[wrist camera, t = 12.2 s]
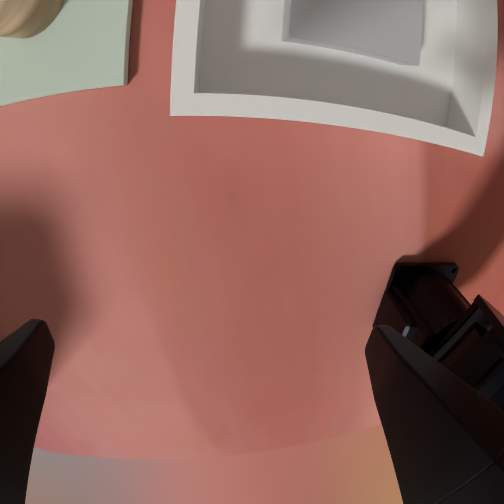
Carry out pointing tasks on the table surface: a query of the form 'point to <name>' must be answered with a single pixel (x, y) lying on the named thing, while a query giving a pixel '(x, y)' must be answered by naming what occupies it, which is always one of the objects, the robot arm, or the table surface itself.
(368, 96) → the tray
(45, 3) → the birch cylinder
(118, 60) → the green pad
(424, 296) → the robot arm
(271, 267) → the table surface
